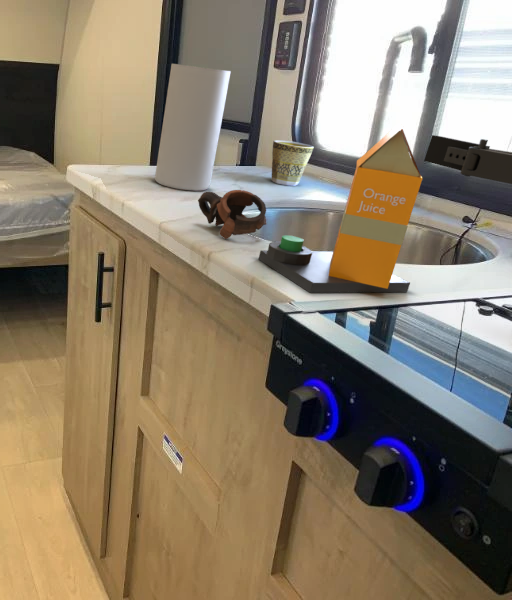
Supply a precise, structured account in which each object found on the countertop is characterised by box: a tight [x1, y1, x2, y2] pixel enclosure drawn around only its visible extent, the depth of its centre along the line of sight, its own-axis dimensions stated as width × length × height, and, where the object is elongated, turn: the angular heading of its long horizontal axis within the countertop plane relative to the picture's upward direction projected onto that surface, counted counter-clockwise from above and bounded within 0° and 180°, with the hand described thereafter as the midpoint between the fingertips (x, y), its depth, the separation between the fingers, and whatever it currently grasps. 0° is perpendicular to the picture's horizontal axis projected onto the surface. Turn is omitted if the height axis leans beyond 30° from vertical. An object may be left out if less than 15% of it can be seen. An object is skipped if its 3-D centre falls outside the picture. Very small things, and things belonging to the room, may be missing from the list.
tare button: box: [280, 235, 305, 252], centre depth 85 cm, size 3×3×2 cm
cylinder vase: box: [154, 63, 232, 192], centre depth 131 cm, size 12×12×25 cm
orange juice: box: [329, 123, 423, 289], centre depth 79 cm, size 8×9×20 cm
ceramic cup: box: [270, 139, 315, 187], centre depth 155 cm, size 13×10×10 cm
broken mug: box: [197, 189, 267, 240], centre depth 100 cm, size 12×10×8 cm
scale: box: [258, 240, 411, 294], centre depth 85 cm, size 16×13×3 cm
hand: (478, 152), depth 65 cm, fingers open, 13 cm apart
